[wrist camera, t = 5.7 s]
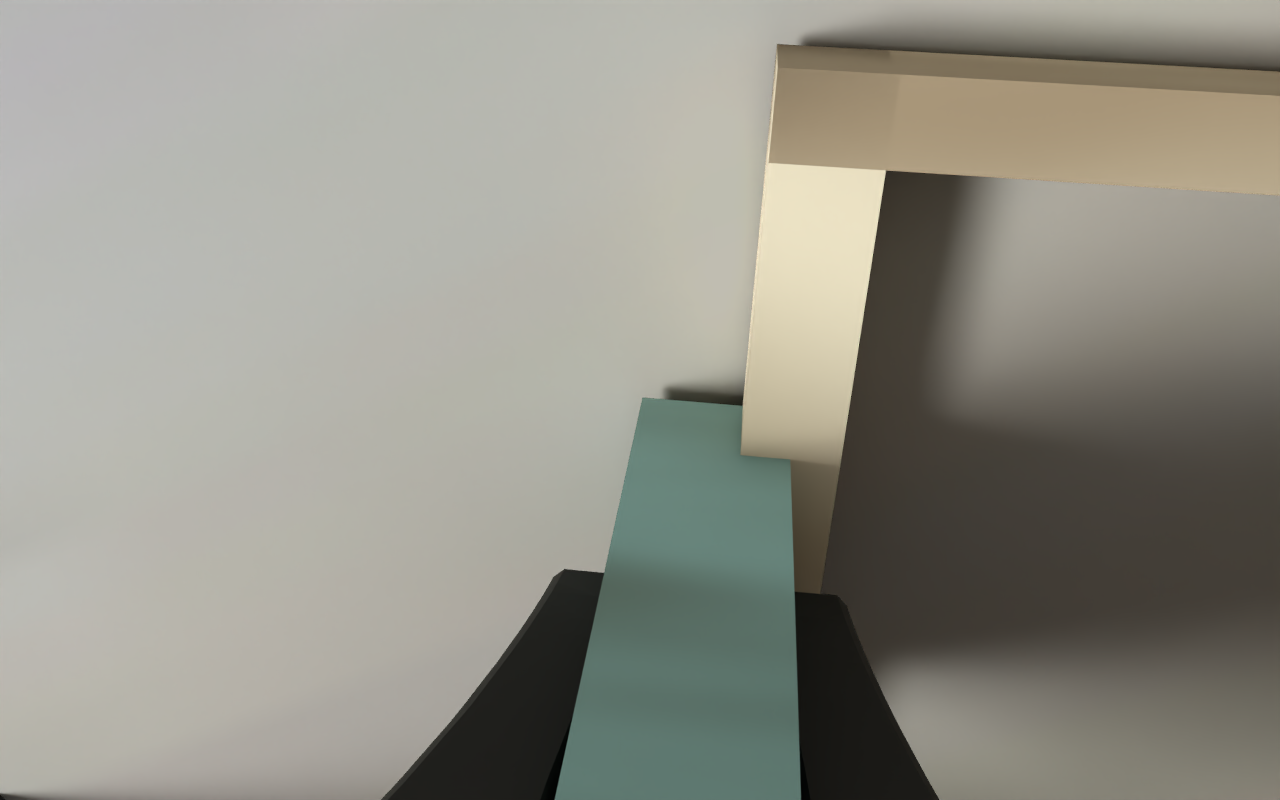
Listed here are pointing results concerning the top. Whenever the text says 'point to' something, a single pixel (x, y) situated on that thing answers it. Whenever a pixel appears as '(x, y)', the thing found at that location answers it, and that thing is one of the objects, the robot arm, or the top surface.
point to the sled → (835, 384)
